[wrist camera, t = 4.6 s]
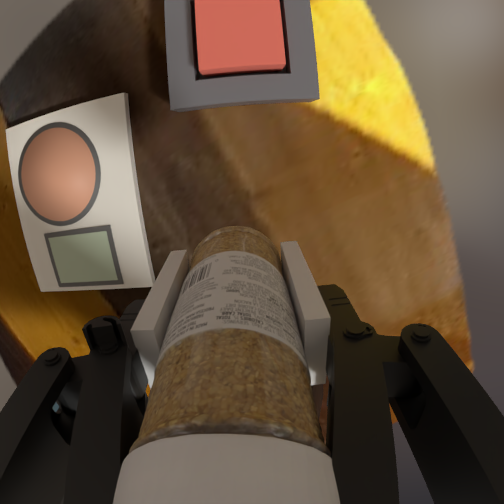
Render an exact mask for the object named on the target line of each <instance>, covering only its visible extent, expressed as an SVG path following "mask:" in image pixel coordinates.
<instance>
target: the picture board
mask: <svg viewBox="0 0 504 504" xmlns="http://www.w3.org/2000/svg"><path fill="white" fill-rule="evenodd" d="M6 138H7V147H8V155H9V163H10V170H11V176H12V182H13V188H14V193H15V198H16V203H17V208H18V213H19V217H20V221H21V226H22V230H23V234H24V237H25V241H26V245H27V249H28V252H29V256H30V259H31V262H32V266H33V269H34V272H35V275H36V278H37V281H38V284H39V287H40V290H41V292H48V291H76V290H100V289H121V288H141V287H152V286H153V284H154V282H155V276H154V272H153V267H152V262H151V257H150V252H149V247H148V242H147V236H146V231H145V225H144V219H143V214H142V208H141V201H140V195H139V188H138V181H137V174H136V167H135V159H134V151H133V143H132V134H131V124H130V113H129V102H128V93H120V94H116V95H111V96H107V97H103V98H100V99H96V100H92V101H88V102H85V103H81V104H78V105H74V106H71V107H68V108H64V109H61V110H58V111H55V112H52V113H49V114H46V115H43V116H40V117H37V118H35V119H32V120H29V121H26V122H24V123H21V124H19V125H16V126H14V127H11V128H9V129H6Z"/></svg>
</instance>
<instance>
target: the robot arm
mask: <svg viewBox="0 0 504 504" xmlns="http://www.w3.org/2000/svg"><path fill="white" fill-rule="evenodd" d="M280 243H281V265H282V275H283V278H284V280H285V283H286V285H287V288H288V291H289V295H290V299H291V302H292V306H293V309H294V313H295V317H296V321H297V324H298V328H299V332H300V336H301V340H302V344H303V348H304V352H305V355H306V359H307V363H308V367H309V371H310V375H311V388H312V393H313V397H314V403H315V406H316V410H317V414H318V418H319V416H320V410H321V405H322V399H323V384H325V383H326V373H327V376H328V379H329V390H328V398H327V406H328V414H327V434H326V446H327V447H328V449H329V450H330V452H331V456H330V457H331V458H332V466H333V471H334V476H335V480H336V485H337V489H338V494H339V500H340V504H399V492H398V477H397V467H396V455H395V446H394V437H393V429H392V421H391V414H390V407H389V403H390V405H391V407H392V409H393V411H394V414H395V416H396V418H397V420H398V422H399V424H400V426H401V428H402V431H403V433H404V435H405V437H406V439H407V441H408V444H409V446H410V448H411V450H412V452H413V455H414V457H415V459H416V461H417V464H418V466H419V468H420V470H421V473H422V475H423V477H424V480H425V482H426V484H427V487H428V489H429V492H430V494H431V496H432V499H433V501H434V504H504V416H503V415H502V413H501V412H500V411H499V409H498V408H497V406H496V405H495V404H494V402H493V401H492V400H491V398H490V397H489V395H488V394H487V393H486V391H485V390H484V389H483V387H482V386H481V385H480V383H479V382H478V381H477V380H476V378H475V377H474V376H473V374H472V373H471V372H470V370H469V369H468V368H467V367H466V365H465V364H464V363H463V362H462V360H461V359H460V358H459V357H458V355H457V354H456V353H455V352H454V350H453V349H452V348H451V347H450V345H449V344H448V343H447V342H446V341H445V339H444V338H443V337H442V336H441V335H440V333H439V332H438V331H437V330H435V329H434V328H433V327H431V326H428V325H425V324H410V325H408V326H406V327H404V328H403V329H402V332H401V336H384V335H378V334H376V331H375V329H374V327H372V326H371V325H370V324H368V323H365V322H362V321H361V320H360V319H359V317H358V315H357V313H356V312H355V310H354V308H353V306H352V304H350V301H349V299H348V298H347V296H346V294H345V292H344V290H343V289H341V288H340V287H338V286H337V285H335V284H332V285H322V286H317V285H316V283H315V281H314V278H313V276H312V274H311V272H310V270H309V267H308V265H307V263H306V261H305V259H304V256H303V254H302V252H301V250H300V248H299V245H298V243H297V241H290V242H280ZM189 271H190V268H189V262H188V256H187V250H178V251H171V253H170V254H169V256H168V258H167V260H166V262H165V264H164V265H163V267H162V269H161V271H160V273H159V275H158V277H157V279H156V281H155V282H154V284H153V286H152V288H151V290H150V292H149V294H148V296H147V298H146V299H143V300H134V301H133V302H132V303H130V304H129V305H128V306H127V307H126V309H125V310H124V312H123V315H122V316H121V317H120V319H118V318H117V317H115V316H101V317H97V318H95V319H93V320H90V321H89V322H88V323H86V324H85V325H84V327H83V329H82V330H83V333H84V335H85V338H86V340H87V343H88V345H89V348H90V353H89V355H85V356H80V357H75V358H71V356H70V354H69V352H68V351H67V350H66V349H65V348H61V347H58V348H51V349H48V350H47V351H45V352H44V353H42V354H41V355H40V356H39V357H38V358H37V360H36V361H35V362H34V364H33V365H32V367H31V368H30V369H29V371H28V372H27V374H26V375H25V376H24V378H23V379H22V381H21V382H20V384H19V385H18V387H17V388H16V390H15V391H14V393H13V394H12V396H11V397H10V398H9V400H8V402H7V403H6V405H5V406H4V407H3V409H2V411H1V412H0V504H113V501H114V495H115V491H116V486H117V482H118V478H119V474H120V470H121V466H122V463H123V461H124V459H125V458H126V457H127V455H128V454H129V450H130V448H131V446H132V445H133V443H134V442H135V441H136V440H137V439H138V437H139V432H140V428H141V425H142V422H143V419H144V415H145V412H146V408H147V404H148V397H147V394H146V392H145V390H146V387H147V384H148V383H149V386H150V389H151V387H152V385H153V381H154V371H155V367H156V363H157V360H158V357H159V354H160V351H161V348H162V344H163V341H164V338H165V335H166V332H167V328H168V325H169V323H170V320H171V317H172V314H173V311H174V309H175V306H176V303H177V300H178V297H179V294H180V292H181V289H182V286H183V283H184V281H185V279H186V277H187V275H188V273H189Z"/></svg>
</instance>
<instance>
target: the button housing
mask: <svg viewBox="0 0 504 504" xmlns="http://www.w3.org/2000/svg"><path fill="white" fill-rule="evenodd" d="M279 1H280V10H281V19H282V29H283V39H284V49H285V60H286V65H285V66H284V68H283V69H282V71H275V72H255V73H240V74H228V75H218V76H209V77H204V76H203V75H202V74H201V73H200V71H199V65H198V50H197V35H196V18H195V0H164V7H165V34H166V54H167V70H168V84H169V97H170V109H171V110H173V111H177V112H183V111H191V110H199V109H207V108H216V107H226V106H237V105H250V104H267V103H291V102H312V101H315V100H317V99H320V98H319V85H318V73H317V62H316V51H315V42H314V33H313V24H312V16H311V8H310V0H279Z"/></svg>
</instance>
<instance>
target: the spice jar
mask: <svg viewBox="0 0 504 504" xmlns="http://www.w3.org/2000/svg"><path fill="white" fill-rule="evenodd" d="M321 431H322V429H321V426H320V423H319V418H318V414H317V410H316V406H315V403H314V397H313V393H312V388H311V375H310V371H309V367H308V363H307V359H306V355H305V352H304V348H303V344H302V340H301V336H300V332H299V328H298V324H297V321H296V317H295V313H294V309H293V306H292V302H291V299H290V295H289V291H288V288H287V285H286V283H285V280H284V278H283V275H282V265H281V260H280V256H279V253H278V250H277V248H276V247H275V246H274V245H273V244H272V242H271V241H270V240H269V239H268V238H267V237H266V236H265V235H263V234H262V233H261V232H259V231H256V230H254V229H252V228H250V227H243V226H229V227H225V228H221V229H218V230H215V231H213V232H212V233H210V234H209V235H208V236H206V237H205V238H204V239H203V240H202V242H201V243H199V244H198V246H197V247H196V249H195V251H194V254H193V256H192V259H191V266H190V271H189V273H188V275H187V277H186V279H185V281H184V283H183V286H182V289H181V292H180V294H179V297H178V300H177V303H176V306H175V309H174V311H173V314H172V317H171V320H170V323H169V325H168V328H167V332H166V335H165V338H164V341H163V344H162V348H161V351H160V354H159V357H158V360H157V363H156V367H155V371H154V381H153V385H152V387H151V390H150V394H149V397H148V404H147V408H146V412H145V415H144V419H143V422H142V425H141V428H140V432H139V437H138V439H137V440H136V441H135V442H134V443H133V445H132V446H131V448H130V450H129V454H128V455H127V457H126V458H125V459H124V461H123V463H122V466H121V470H120V474H119V478H118V482H117V486H116V491H115V495H114V501H113V504H340V500H339V494H338V489H337V485H336V480H335V476H334V471H333V466H332V458H331V457H330V456H331V452H330V450H329V449H328V447H327V446H326V445H325V444H324V438H323V435H322V433H321Z"/></svg>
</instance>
